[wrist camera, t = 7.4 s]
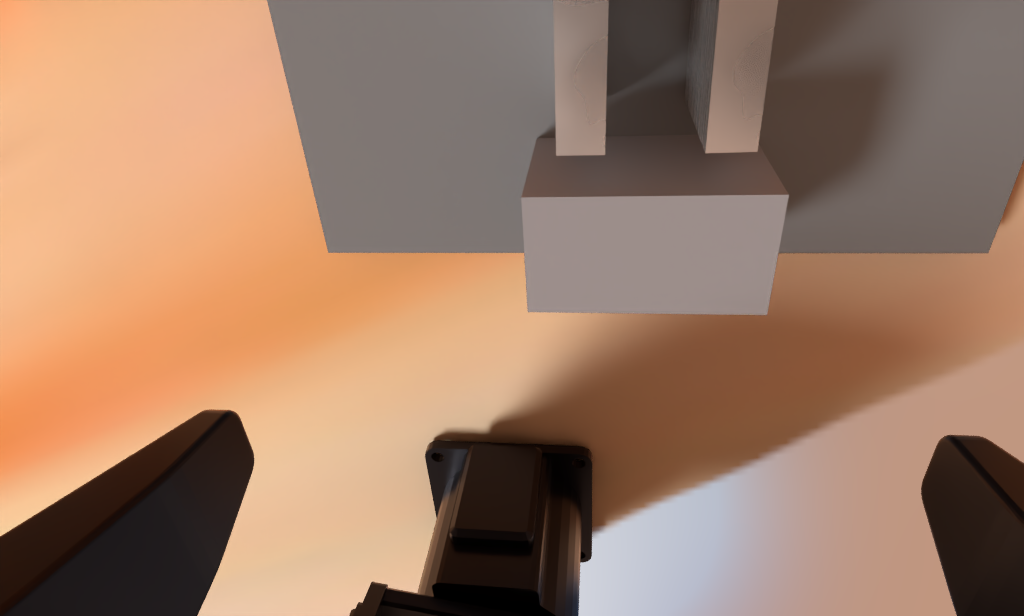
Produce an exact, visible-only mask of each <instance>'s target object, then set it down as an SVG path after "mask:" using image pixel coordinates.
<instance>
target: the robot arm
mask: <svg viewBox="0 0 1024 616" xmlns="http://www.w3.org/2000/svg"><path fill="white" fill-rule="evenodd" d="M437 453H441V455H440V454H437ZM425 458H426V463H427V469H428V474H429V479H430V485H431V490H432V495H433V501H434V506H435V511H436V517H437V520H436V524H435V528H434V532H433V536H432V539H431V543H430V547H429V551H428V555H427V558H426V562H425V566H424V570H423V574H422V577H421V581H420V585H419V589H418V593H413V592H408V591H402V590H397V589H392V588H388V585H386V584H381V583H376V582H372V583H371V585H370V587H369V589H368V592H367V594H366V596H365V599H364V601H363V603H360V602H359V603H358V604H357V607H356V609H353V610H351V613H350V616H578V610H579V609H578V608H579V580H580V562H586V561H588V560H590V559H591V556H592V453H591V452H590V451H589V449H587V448H585V447H580V446H558V445H533V444H508V443H483V442H459V441H433V442H431V443H430V444H429V445H428V447H427V450H426V454H425ZM576 459H583V460H580V461H579V460H576ZM253 466H254V454H253V450H252V447H251V445H250V442H249V440H248V437H247V435H246V432H245V429H244V427H243V424H242V422H241V419H240V417H239V415H238V414H237V413H235V412H234V411H231V410H205V411H202V412H200V413H199V414H197V415H195V416H194V417H192V418H191V419H189V420H187V421H186V422H184V423H182V424H181V425H179V426H178V427H176V428H174V429H173V430H171V431H170V432H168V433H166V434H165V435H163V436H162V437H160V438H158V439H157V440H155V441H154V442H152V443H150V444H149V445H147V446H145V447H144V448H142V449H141V450H139V451H137V452H136V453H134V454H133V455H131V456H129V457H128V458H126V459H125V460H123V461H121V462H120V463H118V464H116V465H115V466H113V467H112V468H110V469H108V470H107V471H105V472H104V473H102V474H100V475H99V476H97V477H95V478H94V479H92V480H91V481H89V482H87V483H86V484H84V485H83V486H81V487H79V488H78V489H76V490H75V491H73V492H71V493H70V494H68V495H66V496H65V497H63V498H62V499H60V500H58V501H57V502H55V503H54V504H52V505H50V506H49V507H47V508H46V509H44V510H42V511H41V512H39V513H37V514H36V515H34V516H33V517H31V518H29V519H28V520H26V521H25V522H23V523H21V524H20V525H18V526H17V527H15V528H13V529H12V530H10V531H8V532H7V533H5V534H4V535H2V536H0V616H197V615H198V613H199V610H200V608H201V606H202V604H203V602H204V600H205V598H206V595H207V593H208V591H209V589H210V587H211V584H212V582H213V580H214V578H215V575H216V573H217V571H218V568H219V565H220V563H221V560H222V557H223V555H224V552H225V549H226V546H227V543H228V540H229V537H230V535H231V532H232V529H233V526H234V523H235V520H236V517H237V514H238V511H239V509H240V506H241V503H242V500H243V497H244V494H245V491H246V488H247V485H248V483H249V480H250V477H251V474H252V471H253ZM921 495H922V500H923V504H924V508H925V512H926V515H927V518H928V522H929V525H930V528H931V532H932V535H933V538H934V541H935V545H936V549H937V552H938V555H939V558H940V562H941V565H942V569H943V572H944V575H945V579H946V582H947V586H948V589H949V592H950V596H951V599H952V602H953V605H954V608H955V611H956V614H957V616H1024V463H1023V462H1021V461H1019V460H1018V459H1017V458H1015V457H1014V456H1012V455H1011V454H1009V453H1008V452H1006V451H1005V450H1003V449H1002V448H1000V447H999V446H997V445H996V444H994V443H993V442H991V441H989V440H988V439H986V438H984V437H980V436H965V435H947V436H944V437H943V438H942V439H941V440H940V441H939V443H938V444H937V446H936V449H935V451H934V454H933V456H932V459H931V461H930V464H929V466H928V469H927V471H926V474H925V476H924V479H923V482H922V487H921Z"/></svg>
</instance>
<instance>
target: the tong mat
mask: <svg viewBox="0 0 1024 616" xmlns="http://www.w3.org/2000/svg"><path fill="white" fill-rule="evenodd" d="M267 1H268V6H269V10H270V14H271V18H272V22H273V26H274V30H275V34H276V39H277V43H278V47H279V51H280V55H281V59H282V63H283V67H284V72H285V76H286V80H287V84H288V88H289V92H290V96H291V100H292V105H293V109H294V113H295V117H296V121H297V125H298V129H299V133H300V137H301V142H302V146H303V150H304V154H305V158H306V162H307V166H308V170H309V175H310V179H311V183H312V187H313V191H314V195H315V199H316V203H317V208H318V212H319V216H320V220H321V224H322V228H323V232H324V236H325V241H326V245H327V249H328V253H524V255H525V272H526V290H527V307H528V312H566V313H642V314H719V315H767V313H768V307H769V302H770V296H771V291H772V285H773V280H774V274H775V269H776V263H777V258H778V253H989V250H990V247H991V245H992V242H993V239H994V237H995V234H996V231H997V229H998V226H999V224H1000V221H1001V218H1002V216H1003V213H1004V210H1005V208H1006V205H1007V202H1008V200H1009V197H1010V195H1011V192H1012V189H1013V187H1014V184H1015V181H1016V179H1017V176H1018V173H1019V171H1020V168H1021V166H1022V163H1023V160H1024V0H778V5H777V13H776V20H775V27H774V35H773V42H772V49H771V56H770V64H769V71H768V78H767V86H766V93H765V100H764V108H763V115H762V122H761V129H760V137H759V144H758V151H757V152H733V153H705V151H704V148H703V146H702V143H701V140H700V138H699V135H698V133H697V130H696V127H695V125H694V122H693V119H692V117H691V114H690V112H689V109H688V106H687V104H686V101H685V86H686V72H687V58H688V44H689V30H690V16H691V2H692V0H609V8H608V50H607V93H606V136H605V155H573V156H556V122H555V69H554V16H553V0H267Z"/></svg>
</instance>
